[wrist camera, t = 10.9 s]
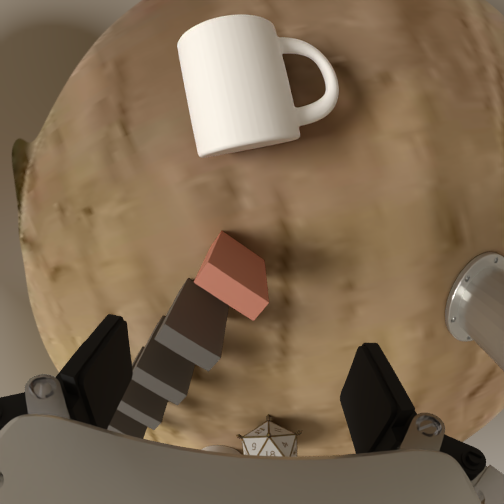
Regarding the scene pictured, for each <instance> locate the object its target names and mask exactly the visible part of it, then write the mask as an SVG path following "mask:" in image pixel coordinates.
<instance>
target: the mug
mask: <svg viewBox="0 0 504 504" xmlns="http://www.w3.org/2000/svg"><path fill="white" fill-rule="evenodd" d="M177 48H178V53H179V59H180V64H181V70H182V75H183V81H184V86H185V91H186V96H187V101H188V107H189V112H190V117H191V122H192V127H193V132H194V136H195V141H196V146H197V151H198V155H199V156H200V157H212V156H218V155H223V154H229V153H234V152H239V151H245V150H250V149H255V148H260V147H265V146H270V145H275V144H280V143H284V142H289V141H293V140H296V139H298V138H299V137H300V131H299V127H300V126H302V125H306V124H310V123H313V122H316V121H318V120H320V119H322V118H324V117H325V116H327V115H328V114H329V113H330V112H331V111H332V110H333V109H334V107H335V105H336V103H337V100H338V95H339V85H338V80H337V76H336V74H335V71H334V69H333V67H332V65H331V64H330V62H329V61H328V60H327V58H326V57H325V56H324V55H323V54H322V53H321V52H320V51H319V50H318V49H317V48H315V47H314V46H312V45H311V44H309V43H307V42H305V41H302V40H299V39H294V38H287V37H278V36H277V34H276V30H275V27H274V25H273V24H272V23H271V22H270V21H268V20H267V19H265V18H262V17H259V16H254V15H228V16H222V17H218V18H214V19H210V20H207V21H205V22H202V23H200V24H198V25H196V26H194V27H192V28H191V29H189V30H188V31H187V32H185V33H184V34H183V35H182V36H181V38H180V39H179V41H178V44H177ZM282 54H299V55H303V56H306V57H308V58H310V59H312V60H313V61H314V62H315V63H316V64H317V65H318V67H319V69H320V70H321V72H322V75H323V77H324V81H325V85H326V91H325V94H324V96H323V97H322V98H321V99H319V100H318V101H316V102H314V103H312V104H309V105H306V106H302V107H298V108H297V107H295V106H294V102H293V98H292V94H291V89H290V85H289V81H288V77H287V72H286V68H285V64H284V60H283V56H282Z"/></svg>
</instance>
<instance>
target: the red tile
mask: <svg viewBox="0 0 504 504" xmlns="http://www.w3.org/2000/svg"><path fill="white" fill-rule="evenodd" d="M194 283H195V284H197V285H198V286H200V287H201V288H203V289H204V290H206V291H208V292H209V293H211V294H212V295H214V296H215V297H217V298H218V299H220V300H221V301H223V302H224V303H226V304H228V305H229V306H231V307H232V308H234V309H235V310H237V311H239V312H240V313H242V314H243V315H245V316H247V317H248V318H250V319H251V320H253V321H254V320H255V319H256V318H257V316H258V315H259V314H260V313H261V312H262V310H263V309H264V308H265V307H266V306H267V305H268V303H269V297H268V287H267V278H266V269H265V260H263V259H262V258H261V257H259V256H258V255H256V254H255V253H253V252H252V251H250V250H249V249H248V248H246V247H245V246H243V245H242V244H240V243H239V242H238V241H236V240H235V239H233V238H232V237H230V236H229V235H227V234H226V233H225V232H223V231H221V232H220V234H219V235H218V237H217V238H216V239H215V241H214V242H213V244H212V245H211V247H210V249H209V251H208V253H207V255H206V257H205V259H204V261H203V264H202V266H201V268H200V270H199V272H198V274H197V276H196V278H195V280H194Z"/></svg>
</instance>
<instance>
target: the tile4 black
mask: <svg viewBox="0 0 504 504" xmlns="http://www.w3.org/2000/svg"><path fill="white" fill-rule="evenodd" d="M143 350H144V347H142V349H141V350H140V352H139V353H138V355H137V357H136V358H135V360H134V362H133V364H132V369H134V367H135V365H136V363H137V361H138V359H139V357H140V355H141V353H142V351H143ZM167 402H168V400H167V399H165V398H163V397H161V396H159V395H158V394H156V393H154V392H152V391H151V390H149V389H147V388H145V387H144V386H142V385H140V384H139V383H137V382H135V381H134V380H132V379H131V382H130V384H129V386H128V388H127V390H126V392H125V394H124V396H123V398H122V400H121V402H120V404H119V406H118V408H117V410H119V411H121V412H122V413H124V414H126V415H127V416H129V417H131V418H133V419H134V420H136V421H138V422H140V423H142V424H144V425H145V426H147V427H149V428H151V429H153V430H155V429H156V428H157V427H158V425H159V424H160V423H161V421H162V418H163V415H164V412H165V409H166V405H167Z"/></svg>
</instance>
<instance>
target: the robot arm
mask: <svg viewBox="0 0 504 504" xmlns="http://www.w3.org/2000/svg"><path fill="white" fill-rule="evenodd" d="M445 321H446V326H447V328H448V331H449V332H450V333H451V334H452V335H453V336H454V337H455V338H456V339H457V340H460V341H472V340H474V341H475V342H476V343H477V344H478V345H479V346H480V347H481V348H482V349H483V350H484V351H485V352H486V353H487V354H488V355H489V356H490V357H491V358H492V359H493V360H494V361H495V362H496V363H497V365H498V366H499V367H500V368H501V369H502V370H503V371H504V257H503V256H501V255H499V254H497V253H495V252H487V253H483V254H481V255H479V256H477V257H476V258H474V259H473V260H472V261H470V262H469V263H468V264H467V265H466V267H465V268H464V269H463V270H462V272H461V273H460V274H459V276H458V277H457V279H456V281H455V282H454V285H453V287H452V289H451V291H450V294H449V297H448V300H447V304H446V309H445ZM132 376H133V369H132V362H131V355H130V347H129V338H128V329H127V322H126V321H124V320H123V318H122V317H121V316H116V315H111V314H108V315H107V316H106V317H105V319H104V320H103V321H102V322H101V323H100V324H99V326H98V327H97V328H96V329H95V330H94V332H93V333H92V334H91V335H90V336H89V338H88V339H87V340H86V341H85V342H84V343H83V344H82V345H81V346H80V347H79V349H78V350H77V351H76V352H75V354H74V355H73V356H72V357H71V358H70V360H69V361H68V362H67V363H66V365H65V366H64V367H63V369H62V370H61V371H60V372H59V374H58V375H57V376H56V378H55V377H54V376H51V375H47V374H41V375H37V376H34V377H32V378H31V379H30V380H29V381H28V382H27V383H26V386H25V392H24V393H19V394H15V395H10V396H6V397H1V398H0V504H504V475H503V474H502V473H501V472H499V471H498V470H497V469H495V468H494V467H493V466H491V465H489V466H488V467H487V466H486V459H485V456H484V455H483V453H482V452H481V451H480V450H478V449H477V448H475V447H472V446H470V445H468V444H465V443H463V442H460V441H458V440H456V439H454V438H451V437H449V436H447V435H445V434H444V433H445V426H444V423H443V422H442V420H441V419H440V418H438V417H437V416H435V415H433V414H430V413H420V414H417V413H416V412H415V408H414V406H413V404H412V402H411V400H410V398H409V397H408V395H407V393H406V391H405V389H404V388H403V386H402V384H401V382H400V381H399V379H398V377H397V375H396V374H395V372H394V370H393V368H392V367H391V365H390V363H389V362H388V360H387V358H386V356H385V355H384V353H383V351H382V350H381V348H380V346H379V345H378V344H377V343H363V345H362V346H359V347H358V349H357V352H356V355H355V357H354V360H353V363H352V366H351V368H350V371H349V374H348V376H347V379H346V381H345V384H344V387H343V389H342V391H341V395H340V401H341V405H342V408H343V411H344V414H345V418H346V421H347V424H348V428H349V431H350V434H351V438H352V441H353V445H354V448H355V451H356V454H348V455H333V456H308V457H284V456H257V455H242V454H231V453H222V452H213V451H205V450H198V449H192V448H186V447H180V446H174V445H169V444H164V443H159V442H154V441H150V440H146V439H141V438H137V437H133V436H129V435H125V434H121V433H118V432H114V431H110V430H107V429H108V426H109V424H110V422H111V420H112V418H113V416H114V414H115V412H116V410H117V408H118V406H119V404H120V402H121V400H122V398H123V396H124V394H125V392H126V390H127V388H128V386H129V384H130V382H131V379H132Z"/></svg>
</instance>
